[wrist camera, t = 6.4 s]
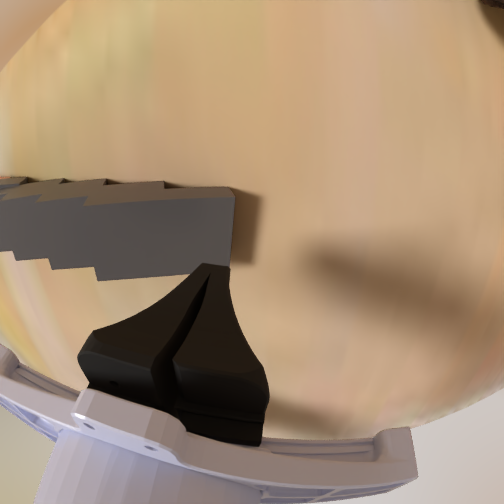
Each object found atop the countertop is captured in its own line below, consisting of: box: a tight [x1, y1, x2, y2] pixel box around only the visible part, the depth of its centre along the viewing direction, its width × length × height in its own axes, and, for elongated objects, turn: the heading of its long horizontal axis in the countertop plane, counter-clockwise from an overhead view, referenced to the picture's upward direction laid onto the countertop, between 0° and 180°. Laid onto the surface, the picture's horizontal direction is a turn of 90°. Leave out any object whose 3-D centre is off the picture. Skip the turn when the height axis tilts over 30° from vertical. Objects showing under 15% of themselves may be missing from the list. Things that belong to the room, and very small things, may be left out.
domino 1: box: [83, 187, 235, 281], centre depth 16 cm, size 5×2×8 cm
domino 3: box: [0, 179, 107, 261], centre depth 17 cm, size 5×2×8 cm
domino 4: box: [0, 178, 64, 252], centre depth 17 cm, size 5×2×8 cm
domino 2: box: [35, 181, 164, 270], centre depth 16 cm, size 5×2×8 cm
